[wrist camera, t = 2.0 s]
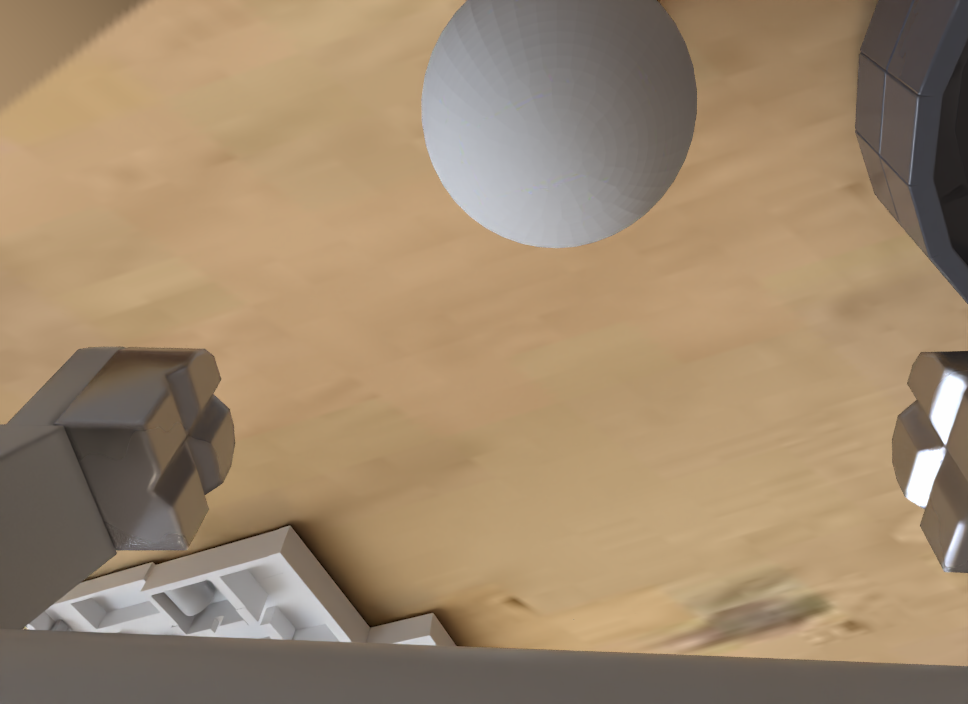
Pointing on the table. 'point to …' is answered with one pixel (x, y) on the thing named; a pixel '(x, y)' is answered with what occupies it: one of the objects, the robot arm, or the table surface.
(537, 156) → the light bulb
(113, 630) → the floor plan model
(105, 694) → the robot arm
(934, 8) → the bowl
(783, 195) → the table surface
